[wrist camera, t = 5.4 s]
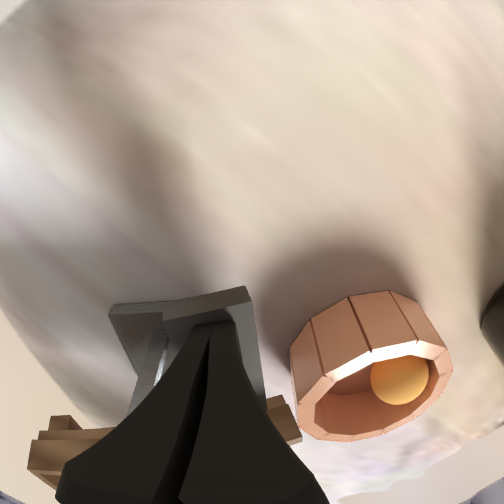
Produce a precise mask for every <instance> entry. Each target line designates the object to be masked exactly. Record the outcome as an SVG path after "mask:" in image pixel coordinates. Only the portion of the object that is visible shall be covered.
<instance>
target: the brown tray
mask: <svg viewBox="0 0 504 504" xmlns="http://www.w3.org/2000/svg"><path fill="white" fill-rule="evenodd" d="M224 320H233V321H234V322H235V323H236V328H237V333H238V338H239V344H240V349H241V354H242V360H243V365H244V368H245V370H246V373H247V375H248V378H249V380H250V382H251V384H252V387H253V389H254V391H255V393H256V395H257V397H258V398H259V400H260V402H261V404H262V406H263V408H264V409H265V411H266V413H267V414H268V416H269V418H270V419H271V421H272V422H273V424H274V425H275V427H276V428H277V430H278V431H279V433H280V434H281V435H282V437H283V438H284V440H285V441H286V442H287V444H288V445H289V446H290V445H293V444H296V443H299V442H302V435H301V432H300V430H299V428H298V425H297V423H296V421H295V419H294V416H293V414H292V412H291V409H290V407H289V405H288V404H286V403H285V400H284V398H283V395H279V396H275V397H271V398H268V399H266V395H265V388H264V382H263V375H262V368H261V361H260V354H259V348H258V341H257V334H256V327H255V320H254V313H253V306H252V300H251V298H250V296H249V294H248V291H247V289H246V287H245V286H240V287H236V288H232V289H227V290H223V291H218V292H214V293H210V294H205V295H201V296H196V297H191V298H187V299H182V300H178V301H173V302H168V303H164V304H163V323H164V326H165V328H166V331H167V334H168V337H169V339H170V342H171V345H172V347H173V350H174V352H175V355H177V354H178V352H179V350H180V349H181V347H182V346H183V344H184V342H185V341H186V339H187V337H188V336H189V334H190V332H191V330H192V329H193V327H194V326H195V325H196V324H203V323H209V322H214V321H224ZM114 428H115V427H111V428H99V429H84V430H83V429H82V428H81V427H80V426H79V425H78V424H77V423H76V421H75V420H74V419H73V418H72V417H71V416H70V415H64V416H63V415H61V416H51V418H50V423H49V428H48V431H39V436H38V440H32V442H31V448H30V454H29V460H28V466H27V469H28V470H29V471H30V472H31V473H33V474H34V475H35V476H37V477H38V478H40V479H41V480H42V481H43V482H45V483H46V484H48V485H49V486H50V487H52V488H53V489H55V490H56V491H57V487H58V483H59V480H60V476H61V473H62V470H63V468H64V465H65V462H67V461H69V460H71V459H72V458H74V457H76V456H77V455H79V454H80V453H82V452H84V451H85V450H87V449H88V448H90V447H91V446H93V445H94V444H95V443H97V442H98V441H99V440H101V439H102V438H103V437H104V436H106V435H107V434H108V433H109V432H111V431H112V430H113V429H114Z"/></svg>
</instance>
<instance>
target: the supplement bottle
mask: <svg viewBox="0 0 504 504" xmlns="http://www.w3.org/2000/svg"><path fill="white" fill-rule="evenodd" d="M482 334H483V336H484V338H485V340H486V341H487V343H488V344H489V346H490V348H491V349H492V351H493V352H494V354H495V355H496V357H497V358H498V360H499V361H500V363H501V364H502V366H503V367H504V286H503V287H502V288H501V289H500V290H499V291H498V292H497V293H496V295H495V296H494V297H493V299H492V300H491V302H490V303H489V305H488V307H487V309H486V311H485V313H484V316H483V320H482Z"/></svg>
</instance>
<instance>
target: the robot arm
mask: <svg viewBox="0 0 504 504" xmlns="http://www.w3.org/2000/svg"><path fill="white" fill-rule="evenodd" d="M55 498H56V500H57V501H58V502H59V503H61V504H330V503H329V501H328V499H327V497H326V495H325V493H324V492H323V490H322V488H321V487H320V485H319V484H318V482H317V480H316V479H315V477H314V475H313V473H312V472H311V471H310V470H309V469H308V468H307V467H306V466H305V465H304V463H303V462H302V461H301V460H300V459H299V458H298V456H297V455H296V454H295V453H294V451H293V450H292V449H291V448H290V446H289V445H288V444H287V442H286V441H285V440H284V438H283V437H282V435H281V434H280V433H279V431H278V430H277V428H276V427H275V425H274V424H273V422H272V421H271V419H270V418H269V416H268V414H267V413H266V411H265V409H264V408H263V406H262V404H261V402H260V400H259V398H258V397H257V395H256V393H255V391H254V389H253V387H252V384H251V382H250V380H249V378H248V375H247V373H246V370H245V368H244V365H243V360H242V354H241V349H240V344H239V338H238V333H237V328H236V323H235V322H234V321H233V320H224V321H214V322H209V323H203V324H196V325H195V326H194V327H193V329H192V330H191V332H190V334H189V336H188V337H187V339H186V341H185V342H184V344H183V346H182V347H181V349H180V350H179V352H178V354H177V355H176V357H175V358H174V360H173V361H172V363H171V364H170V366H169V367H168V369H167V370H166V371H165V373H164V374H163V376H162V377H161V378H160V380H159V381H158V382H157V384H156V385H155V386H154V388H153V389H152V390H151V391H150V392H149V394H148V395H147V396H146V397H145V398H144V399H143V401H142V402H141V403H140V404H139V405H138V406H137V407H136V408H135V409H134V410H133V411H132V412H131V413H130V414H129V415H128V416H127V417H126V418H125V419H124V420H123V421H122V422H121V423H120V424H119V425H118V426H117V427H115V428H114V429H113V430H112V431H111V432H109V433H108V434H107V435H106V436H104V437H103V438H102V439H101V440H99V441H98V442H97V443H95V444H94V445H93V446H91V447H90V448H88V449H87V450H85V451H84V452H82V453H80V454H79V455H77V456H76V457H74V458H72V459H71V460H69V461H67V462H65V465H64V468H63V470H62V473H61V476H60V480H59V483H58V487H57V491H56V495H55ZM0 504H25V503H23V502H21V501H19V500H16V499H15V498H13V497H11V496H9V495H7V494H5V493H3V492H1V491H0ZM459 504H504V477H503V478H501V479H499V480H498V481H496V482H494V483H492V484H490V485H489V486H487V487H485V488H484V489H482V490H480V491H479V492H478V493H476V494H475V495H473V497H472V498H470V499H468V500H466V501H464V502H462V503H459Z"/></svg>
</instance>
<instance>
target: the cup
mask: <svg viewBox="0 0 504 504" xmlns="http://www.w3.org/2000/svg"><path fill="white" fill-rule="evenodd" d="M311 320H312V321H310V320H309V321H308V322H307V324H306V325H305V327H304V328H303V330H302V331H301V332H300V334H299V335H298V337H297V338H296V340H295V341H294V342H293V344H292V345H291V347H290V349H289V352H290V372H291V380H292V387H293V395H294V402H295V410H296V417H297V425H298V427H299V428H300V429H302V430H303V431H305V432H306V433H308V434H309V435H311V436H312V437H314V438H315V439H318V440H325V441H338V442H348V441H349V442H352V441H357V440H362V439H366V438H370V437H375V436H379V435H382V434H383V433H384V434H385V433H387V432H389V431H391V430H393V429H395V428H397V427H399V426H401V425H403V424H405V423H407V422H409V421H411V420H413V419H415V417H418V416H419V415H420V414H421V413H422V412H423V411H424V410H425V409H427V408H428V407H429V406H430V405H431V404H432V403H433V402H434V401H435V400H436V399H437V398H439V397H440V394H442V393H443V391H444V389H445V387H446V385H447V383H448V381H449V379H450V376H451V374H452V372H453V365H452V362H451V358H450V355H449V352H448V349H447V347H446V346H445V344H444V342H443V341H442V339H441V338H440V336H439V334H438V333H437V331H436V330H435V328H434V327H433V325H432V324H431V322H430V321H429V319H428V317H427V316H426V314H425V313H424V311H423V310H422V309H421V307H420V306H419V304H418V303H417V302H416V301H414V300H411V299H409V298H406V297H404V296H402V295H399V294H397V293H394V292H392V291H389V292H388V291H381V292H375V293H368V294H362V295H355V296H349V300H348V298H347V297H346V298H345V299H343V300H341V301H340V302H338V303H336V304H335V305H333V306H331V307H330V308H328V309H326V310H324V311H323V312H321V313H319V314H318V315H316V316H314V317H312V318H311ZM409 354H411V355H415V356H419V357H423V358H425V359H426V361H427V363H428V367H429V377H428V381H427V384H426V386H425V388H424V390H423V391H422V392H421V394H420V395H419V396H418V397H416V398H415V399H414V400H412V401H410V402H408V403H405V404H400V405H394V404H389V403H386V402H384V401H382V400H381V399H380V398H378V397H377V395H376V394H375V393H374V391H373V389H372V386H371V381H370V374H371V369H372V366H373V364H374V362H377V361H382V360H387V359H392V358H396V357H401V356H405V355H409Z"/></svg>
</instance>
